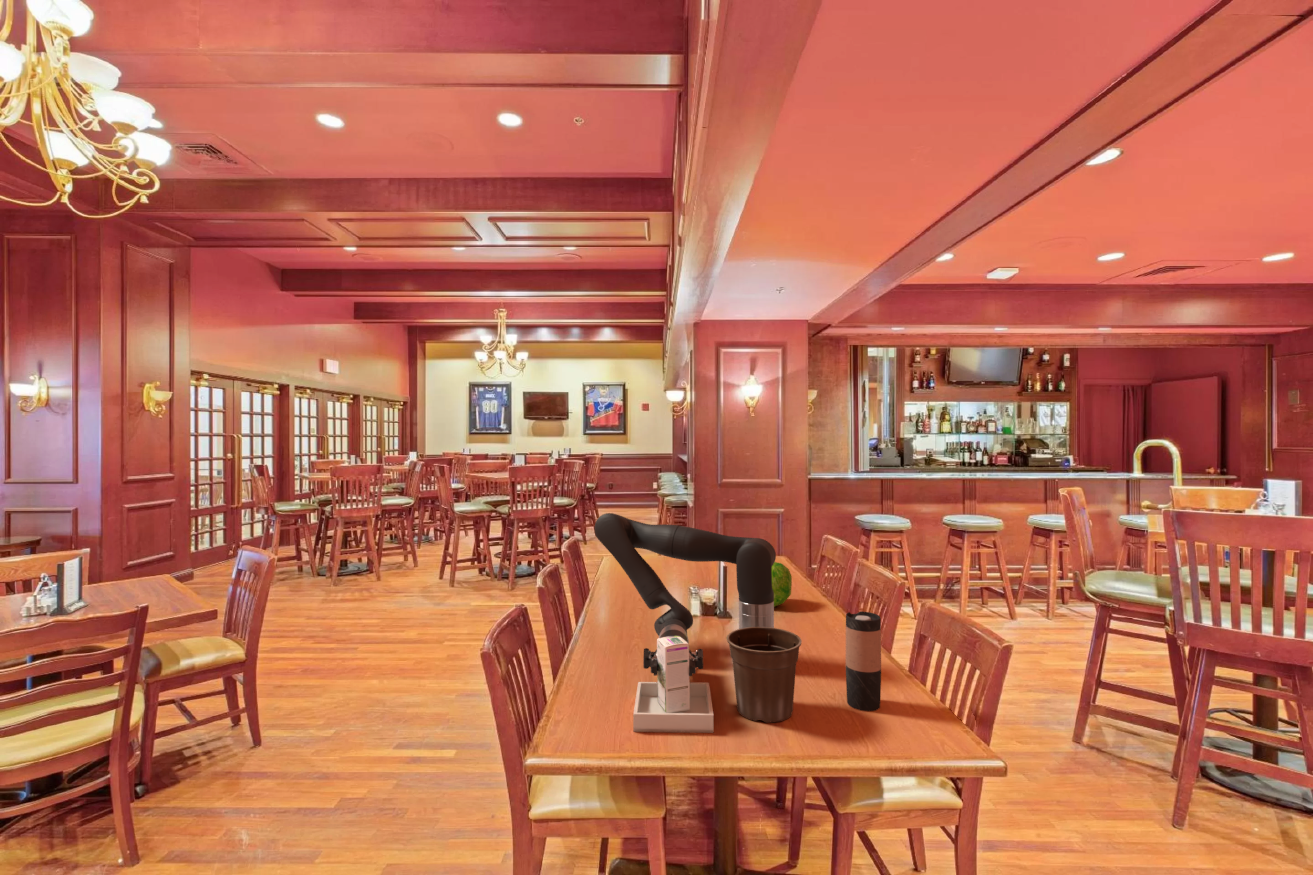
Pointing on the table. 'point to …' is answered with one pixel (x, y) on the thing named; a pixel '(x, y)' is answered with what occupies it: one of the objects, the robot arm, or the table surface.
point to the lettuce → (781, 583)
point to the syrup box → (673, 674)
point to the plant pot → (764, 671)
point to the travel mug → (863, 660)
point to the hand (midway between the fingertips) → (673, 671)
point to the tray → (657, 720)
